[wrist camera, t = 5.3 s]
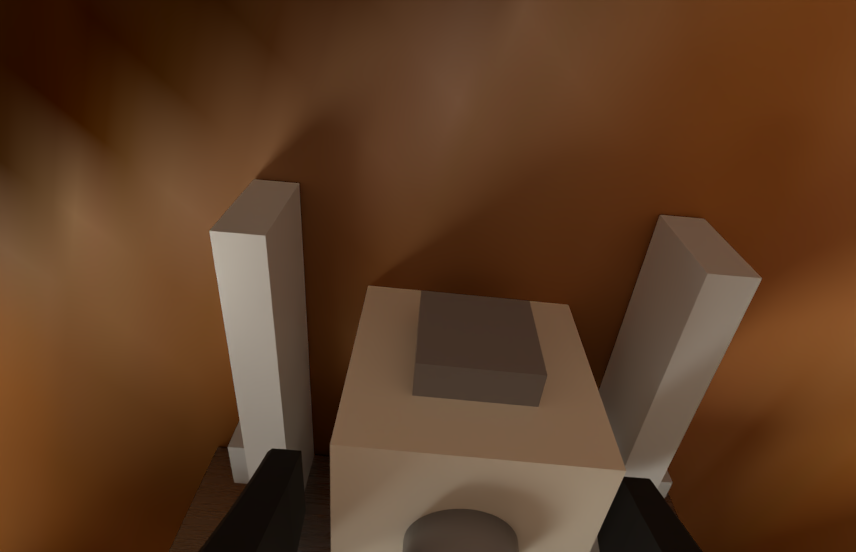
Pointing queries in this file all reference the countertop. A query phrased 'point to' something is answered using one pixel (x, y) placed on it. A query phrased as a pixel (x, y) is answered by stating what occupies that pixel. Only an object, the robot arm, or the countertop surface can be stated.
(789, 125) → the countertop surface
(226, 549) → the robot arm
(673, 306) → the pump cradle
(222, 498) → the block
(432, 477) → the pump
